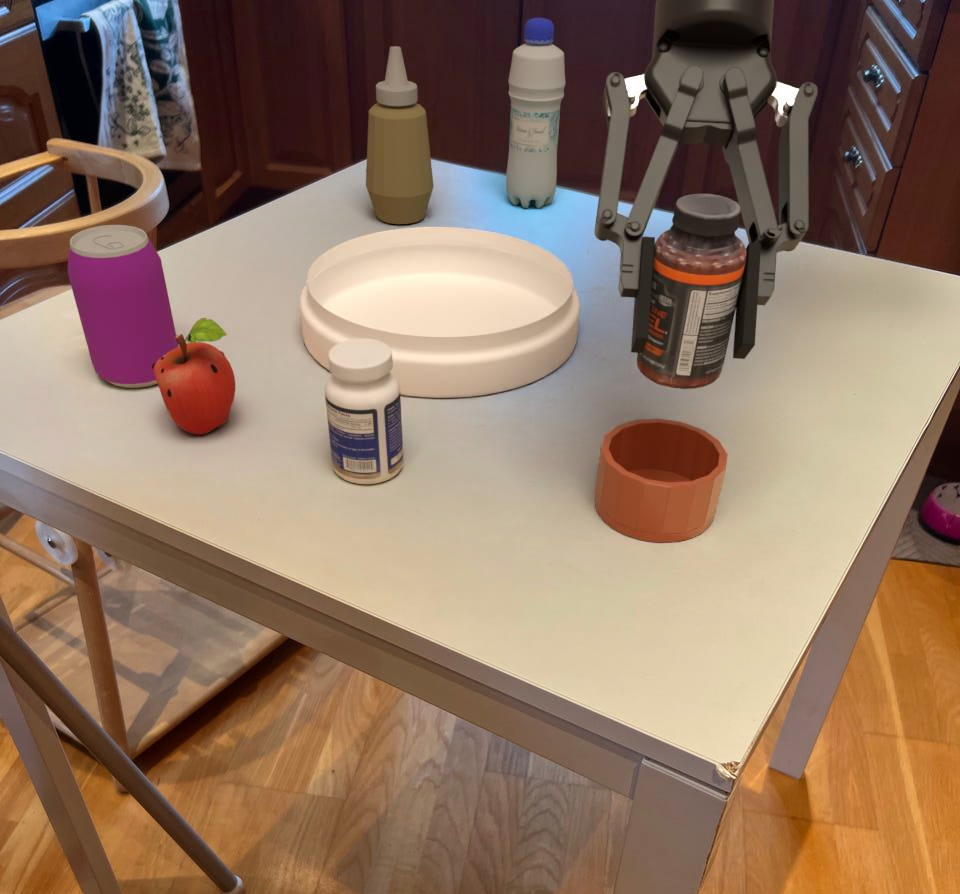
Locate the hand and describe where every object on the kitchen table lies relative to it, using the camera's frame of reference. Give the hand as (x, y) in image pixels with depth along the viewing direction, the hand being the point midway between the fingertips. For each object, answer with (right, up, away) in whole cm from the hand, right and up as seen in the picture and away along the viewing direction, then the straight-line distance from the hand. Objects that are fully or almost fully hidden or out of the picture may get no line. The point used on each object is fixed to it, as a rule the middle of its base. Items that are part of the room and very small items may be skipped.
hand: (691, 348), depth 62 cm
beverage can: (-45, +6, +26) cm, 52 cm away
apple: (-37, -1, +20) cm, 42 cm away
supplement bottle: (0, 0, +5) cm, 5 cm away
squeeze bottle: (-23, +33, +56) cm, 69 cm away
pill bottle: (-23, -5, +16) cm, 28 cm away
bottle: (-7, +37, +61) cm, 71 cm away
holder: (0, -8, +13) cm, 15 cm away
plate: (-18, +12, +34) cm, 40 cm away
